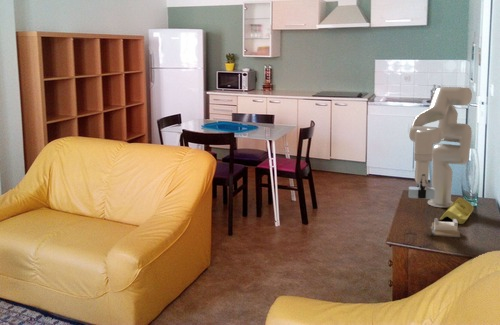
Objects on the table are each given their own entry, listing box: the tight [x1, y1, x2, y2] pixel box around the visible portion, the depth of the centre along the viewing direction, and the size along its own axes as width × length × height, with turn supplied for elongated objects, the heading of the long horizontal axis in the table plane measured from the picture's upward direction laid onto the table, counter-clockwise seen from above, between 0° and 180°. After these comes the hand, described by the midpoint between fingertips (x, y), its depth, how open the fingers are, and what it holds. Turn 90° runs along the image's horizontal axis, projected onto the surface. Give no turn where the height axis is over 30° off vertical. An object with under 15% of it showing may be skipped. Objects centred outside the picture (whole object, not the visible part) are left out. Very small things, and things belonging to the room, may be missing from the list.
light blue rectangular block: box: [408, 186, 435, 200], centre depth 233 cm, size 4×11×4 cm, turn 74°
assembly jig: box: [430, 222, 461, 238], centre depth 226 cm, size 10×11×3 cm
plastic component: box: [439, 196, 475, 225], centre depth 245 cm, size 20×7×10 cm
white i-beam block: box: [433, 217, 459, 231], centre depth 226 cm, size 5×9×5 cm, turn 77°
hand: (421, 195), depth 233 cm, fingers closed on light blue rectangular block, 4 cm apart
